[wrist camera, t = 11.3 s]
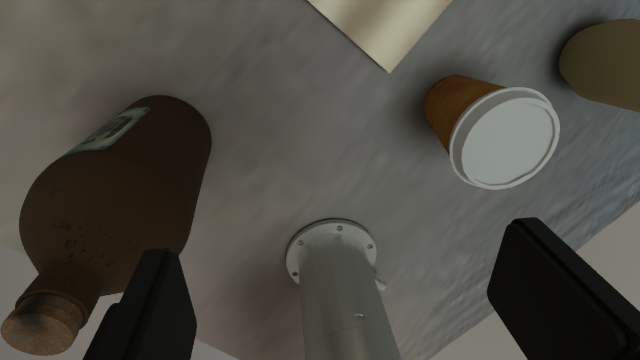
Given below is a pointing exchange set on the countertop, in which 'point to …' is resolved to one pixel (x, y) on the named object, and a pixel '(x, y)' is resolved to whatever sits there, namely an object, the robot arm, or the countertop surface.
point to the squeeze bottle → (605, 63)
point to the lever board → (383, 24)
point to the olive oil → (106, 216)
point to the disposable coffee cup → (492, 130)
